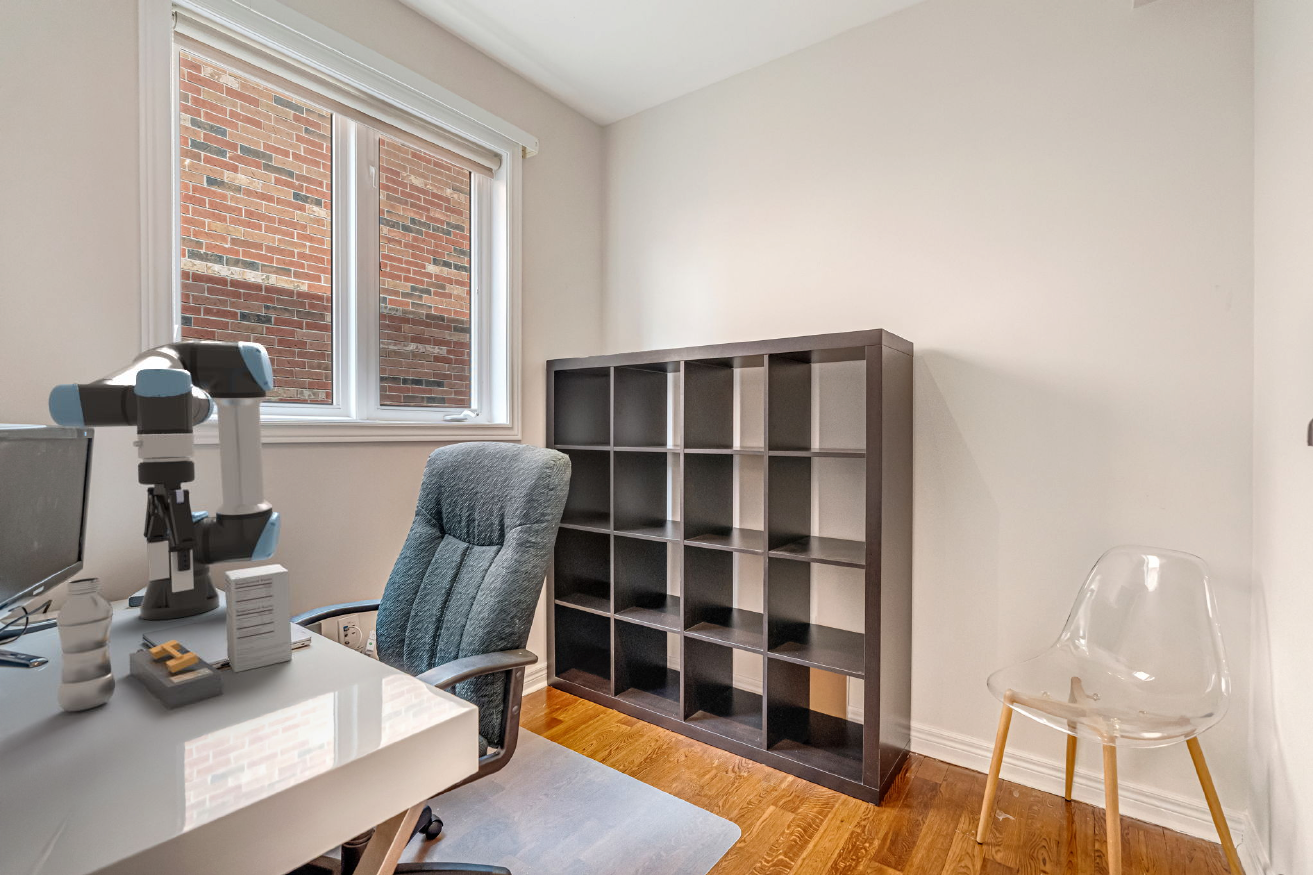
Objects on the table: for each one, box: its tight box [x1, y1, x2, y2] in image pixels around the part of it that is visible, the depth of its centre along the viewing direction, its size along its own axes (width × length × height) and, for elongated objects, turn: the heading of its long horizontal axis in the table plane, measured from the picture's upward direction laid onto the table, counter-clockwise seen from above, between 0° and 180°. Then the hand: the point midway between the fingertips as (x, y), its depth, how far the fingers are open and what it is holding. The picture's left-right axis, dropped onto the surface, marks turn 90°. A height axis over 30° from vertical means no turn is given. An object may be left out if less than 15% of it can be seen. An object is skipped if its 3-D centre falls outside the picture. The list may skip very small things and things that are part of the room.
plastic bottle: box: [55, 577, 116, 712], centre depth 97 cm, size 6×7×20 cm
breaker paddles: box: [149, 639, 199, 673], centre depth 106 cm, size 13×4×2 cm, turn 52°
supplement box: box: [224, 563, 293, 673], centre depth 116 cm, size 10×9×17 cm
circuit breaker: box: [128, 643, 224, 711], centre depth 109 cm, size 34×7×4 cm, turn 52°
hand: (170, 584), depth 105 cm, fingers open, 13 cm apart
